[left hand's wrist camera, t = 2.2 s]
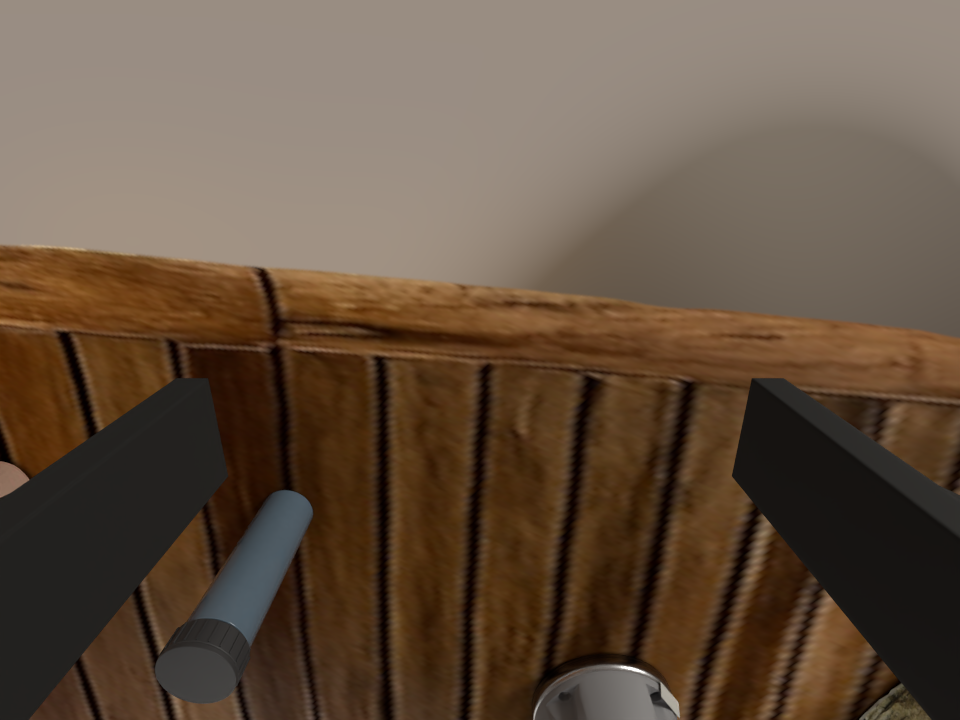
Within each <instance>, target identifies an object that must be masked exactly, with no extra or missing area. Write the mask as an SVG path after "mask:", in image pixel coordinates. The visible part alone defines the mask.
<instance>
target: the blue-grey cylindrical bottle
mask: <svg viewBox="0 0 960 720" xmlns="http://www.w3.org/2000/svg"><path fill="white" fill-rule="evenodd" d="M312 517H313V510H312V506H311V504H310V503H309V501H308V500H307V499H306V498H305V497H304V496H302V495H301V494H299V493H297V492H294V491H289V490H281V491H277V492H274V493H272V494H271V495H269V496H268V497H267V498H266V500H265V501H264V503H263V504H262V506H261V508H260V509H259V511H258V512H257V514H256V515H255V517H254V518H253V520H252V521H251V523H250V525H249V526H248V528H247V529H246V531H245V532H244V534H243V535H242V537H241V538H240V540H239V542H238V543H237V545H236V546H235V548H234V549H233V551H232V552H231V554H230V555H229V557H228V559H227V560H226V562H225V563H224V565H223V566H222V568H221V569H220V571H219V572H218V574H217V575H216V577H215V579H214V580H213V582H212V583H211V585H210V586H209V588H208V589H207V591H206V592H205V594H204V596H203V597H202V599H201V600H200V602H199V603H198V605H197V606H196V608H195V609H194V611H193V613H192V614H191V616H190V617H189V619H188V620H187V622H189V621H192V620H195V619H215V620H220V621H223V622H225V623H228V624H230V625H232V626H233V627H235V628H236V629H238V630H239V631H240V632H241V633H242V634H243V635H244V636H245V638H246V639H247V641H248V644H249V647H251V645H252V643H253V641H254V639H255V637H256V635H257V633H258V631H259V628H260V626H261V624H262V622H263V620H264V618H265V616H266V614H267V612H268V610H269V608H270V605H271V603H272V601H273V599H274V597H275V595H276V593H277V591H278V589H279V587H280V585H281V583H282V580H283V578H284V576H285V574H286V572H287V570H288V568H289V566H290V564H291V562H292V560H293V558H294V555H295V553H296V551H297V549H298V547H299V545H300V543H301V541H302V539H303V537H304V535H305V532H306V530H307V528H308V526H309V524H310V522H311V520H312Z"/></svg>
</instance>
